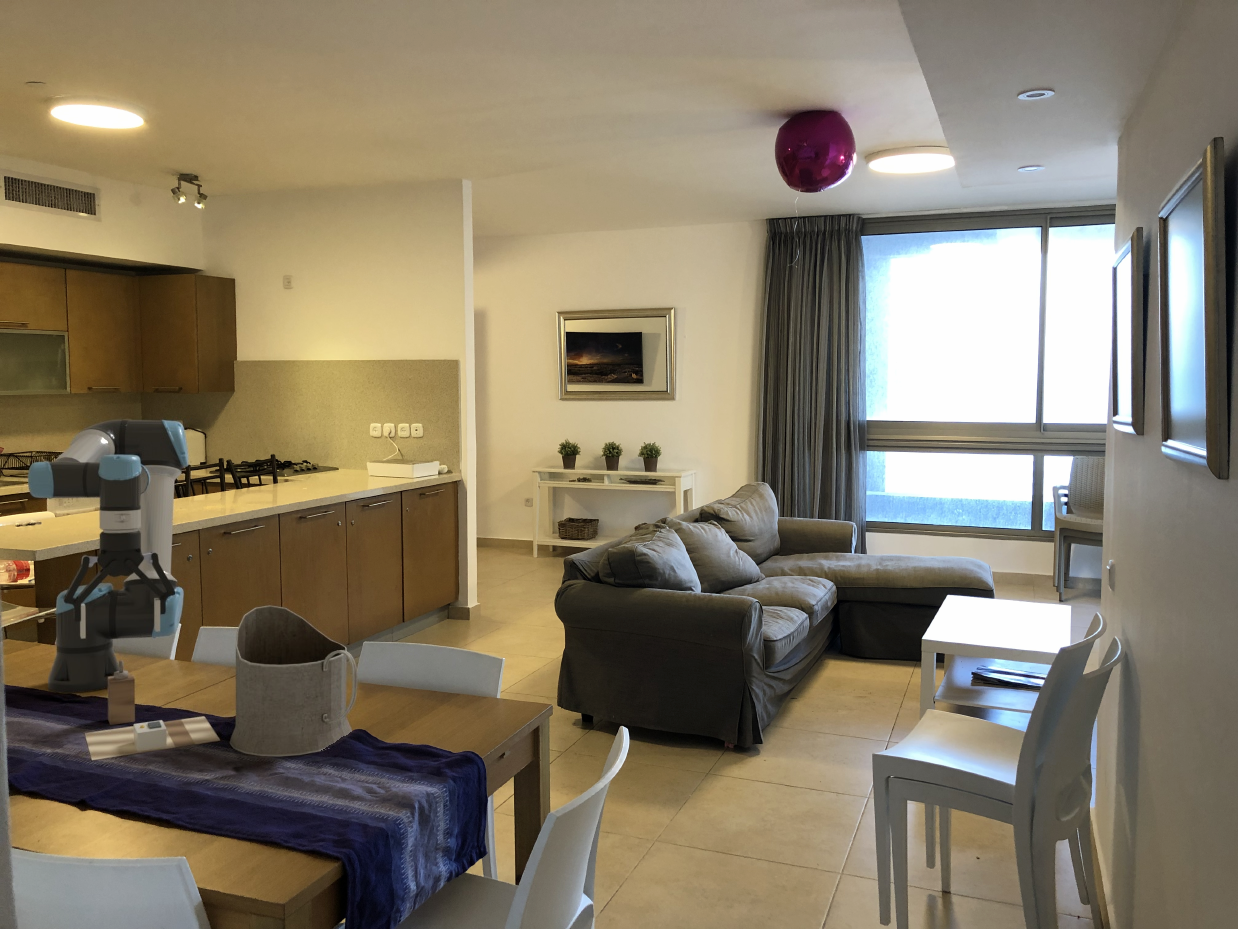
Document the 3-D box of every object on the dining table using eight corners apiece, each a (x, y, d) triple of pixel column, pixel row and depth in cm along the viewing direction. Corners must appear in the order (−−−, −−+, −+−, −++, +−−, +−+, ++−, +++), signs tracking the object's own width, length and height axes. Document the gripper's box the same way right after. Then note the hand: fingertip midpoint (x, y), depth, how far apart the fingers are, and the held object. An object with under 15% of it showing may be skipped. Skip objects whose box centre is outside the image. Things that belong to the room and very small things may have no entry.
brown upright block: (108, 724, 199) (107, 659, 199) (132, 721, 202) (131, 657, 201) (110, 730, 196) (109, 664, 195) (134, 727, 198) (134, 662, 197)
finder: (133, 742, 186) (133, 721, 186) (162, 737, 188) (162, 717, 188) (137, 751, 181) (137, 730, 181) (166, 747, 183) (166, 726, 183)
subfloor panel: (84, 739, 190) (84, 733, 190) (204, 722, 202) (204, 716, 202) (91, 766, 176) (91, 760, 176) (220, 746, 188) (220, 740, 188)
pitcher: (306, 711, 211) (307, 598, 210) (402, 743, 192) (403, 619, 191) (206, 738, 192) (206, 614, 191) (302, 776, 174) (302, 639, 172)
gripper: (50, 535, 187) (51, 644, 188) (189, 529, 200) (189, 630, 201) (48, 531, 193) (49, 636, 194) (183, 526, 206) (183, 624, 207)
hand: (120, 633), depth 197 cm, fingers open, 13 cm apart
